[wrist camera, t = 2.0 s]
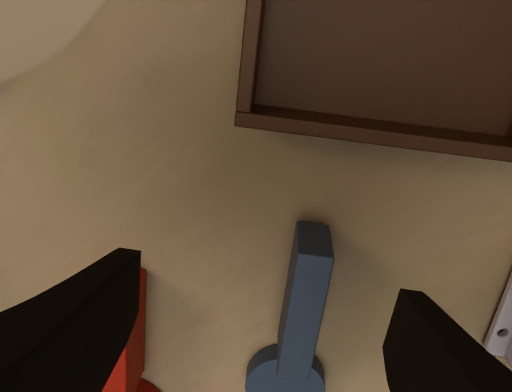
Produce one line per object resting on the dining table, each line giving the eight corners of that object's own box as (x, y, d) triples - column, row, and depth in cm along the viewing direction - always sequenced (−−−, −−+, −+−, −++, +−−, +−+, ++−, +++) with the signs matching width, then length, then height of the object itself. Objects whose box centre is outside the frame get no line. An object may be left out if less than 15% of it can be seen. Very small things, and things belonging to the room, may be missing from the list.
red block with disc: (90, 261, 24) (62, 297, 21) (172, 272, 24) (155, 310, 21) (96, 423, 29) (74, 471, 26) (164, 433, 29) (150, 482, 26)
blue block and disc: (268, 216, 22) (265, 248, 19) (357, 228, 22) (367, 262, 19) (243, 396, 27) (237, 444, 24) (316, 407, 27) (319, 456, 24)
